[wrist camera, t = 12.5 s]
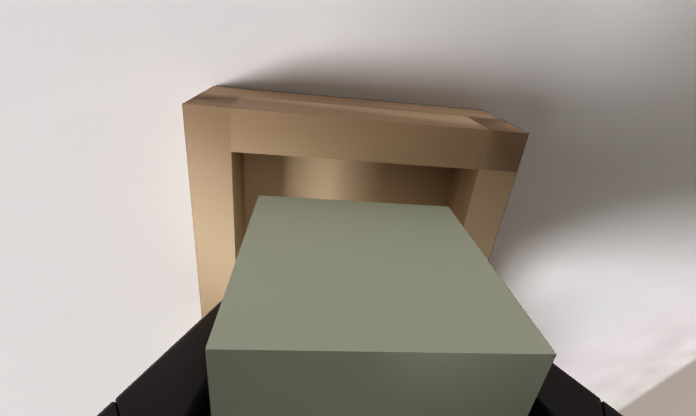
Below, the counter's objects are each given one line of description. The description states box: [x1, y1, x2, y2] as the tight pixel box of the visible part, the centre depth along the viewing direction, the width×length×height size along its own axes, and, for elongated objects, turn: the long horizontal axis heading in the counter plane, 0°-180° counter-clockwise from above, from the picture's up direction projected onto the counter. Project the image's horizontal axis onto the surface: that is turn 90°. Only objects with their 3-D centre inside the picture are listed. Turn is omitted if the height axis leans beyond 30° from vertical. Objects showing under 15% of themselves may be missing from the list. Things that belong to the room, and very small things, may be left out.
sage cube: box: [205, 195, 556, 416], centre depth 8 cm, size 4×4×4 cm
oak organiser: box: [182, 86, 529, 318], centre depth 13 cm, size 16×8×3 cm, turn 174°
